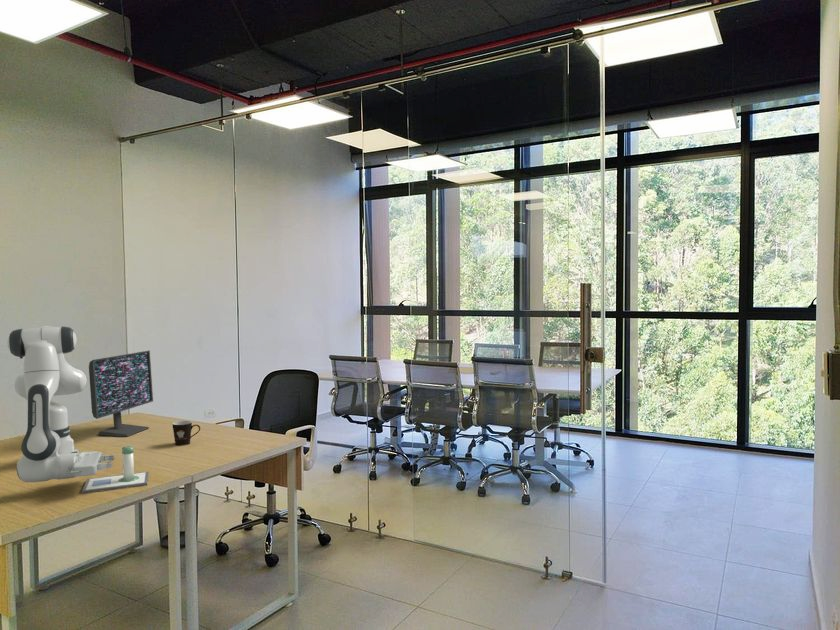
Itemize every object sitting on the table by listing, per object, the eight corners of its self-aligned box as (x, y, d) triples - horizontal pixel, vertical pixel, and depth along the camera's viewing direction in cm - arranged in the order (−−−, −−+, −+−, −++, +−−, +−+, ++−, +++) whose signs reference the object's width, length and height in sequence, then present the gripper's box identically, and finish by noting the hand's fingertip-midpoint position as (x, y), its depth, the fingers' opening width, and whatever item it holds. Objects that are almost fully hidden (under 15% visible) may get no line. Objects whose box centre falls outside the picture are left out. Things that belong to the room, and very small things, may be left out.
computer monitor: (109, 444, 272) (106, 360, 271) (78, 442, 275) (75, 359, 273) (163, 423, 315) (162, 350, 314) (137, 422, 318) (134, 350, 316)
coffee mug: (168, 445, 269) (168, 424, 268) (181, 440, 277) (180, 420, 277) (189, 447, 266) (189, 425, 265) (201, 442, 274) (201, 421, 274)
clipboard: (87, 480, 219) (87, 478, 219) (148, 473, 227) (148, 471, 227) (82, 493, 205) (82, 490, 205) (147, 485, 213) (147, 482, 213)
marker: (123, 478, 219) (122, 446, 218) (134, 476, 220) (133, 445, 220) (122, 481, 215) (121, 449, 215) (134, 479, 217) (133, 448, 216)
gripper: (65, 465, 200) (110, 460, 206) (74, 450, 219) (115, 446, 225) (66, 482, 201) (111, 477, 206) (74, 466, 219) (115, 462, 225)
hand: (113, 461), depth 216 cm, fingers open, 8 cm apart
